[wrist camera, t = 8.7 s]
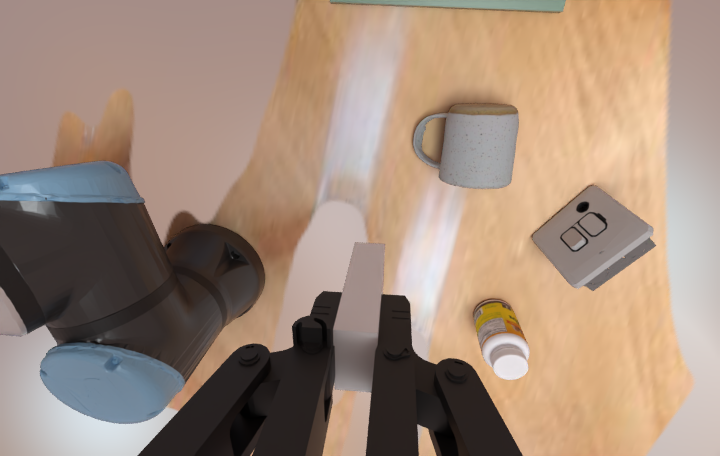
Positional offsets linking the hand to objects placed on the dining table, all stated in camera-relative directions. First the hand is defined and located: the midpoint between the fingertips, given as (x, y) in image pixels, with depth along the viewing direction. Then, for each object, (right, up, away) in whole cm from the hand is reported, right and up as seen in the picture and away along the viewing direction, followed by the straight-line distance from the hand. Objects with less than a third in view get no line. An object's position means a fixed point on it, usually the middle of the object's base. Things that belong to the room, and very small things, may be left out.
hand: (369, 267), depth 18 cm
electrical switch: (+26, +3, +26) cm, 37 cm away
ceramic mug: (+11, +12, +24) cm, 29 cm away
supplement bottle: (+18, -10, +33) cm, 39 cm away
